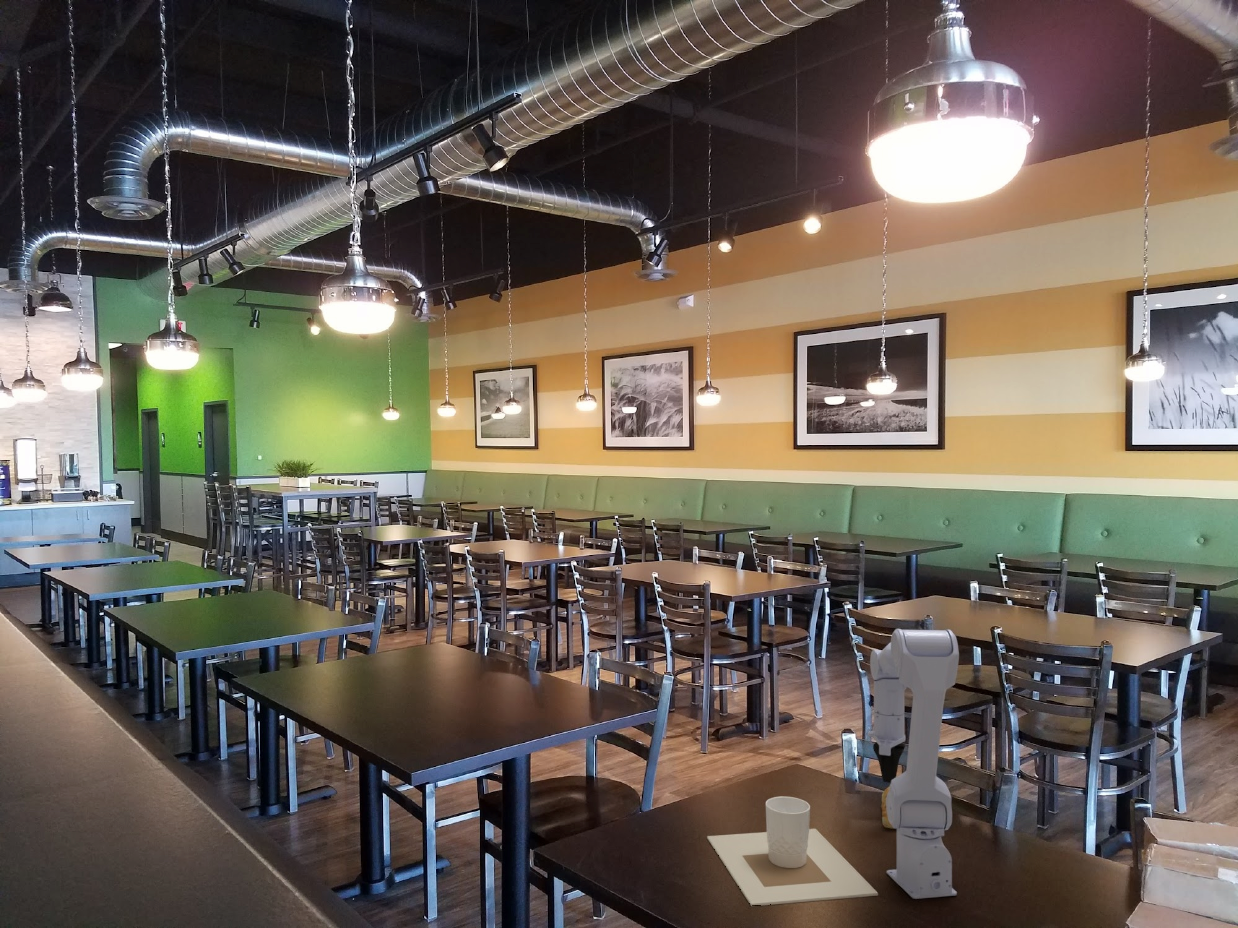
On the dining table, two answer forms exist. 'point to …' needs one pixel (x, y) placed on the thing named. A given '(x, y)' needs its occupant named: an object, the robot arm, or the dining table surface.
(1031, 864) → the dining table surface
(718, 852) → the placemat
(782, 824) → the white cup
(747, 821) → the dining table surface
